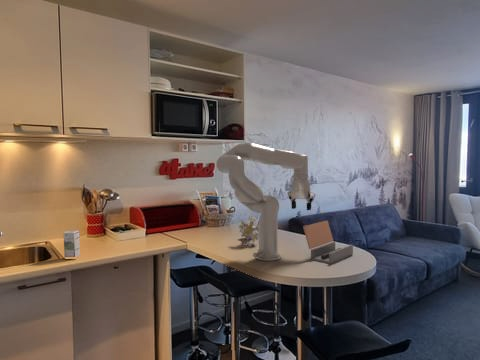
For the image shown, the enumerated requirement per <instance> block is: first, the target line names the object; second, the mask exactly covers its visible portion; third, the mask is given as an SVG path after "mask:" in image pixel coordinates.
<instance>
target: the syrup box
mask: <svg viewBox="0 0 480 360" xmlns="http://www.w3.org/2000/svg"><path fill="white" fill-rule="evenodd" d="M62 233H63V251H64V258H65V257H77V256H78V255H80V256H81V250H80V249H81V247H80V243H81V242H80V230H77V229H76V230H75V229H74V230H71V229H70V230H65V231H64V232H62Z"/></svg>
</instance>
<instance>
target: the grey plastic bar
mask: <svg viewBox="0 0 480 360" xmlns="http://www.w3.org/2000/svg"><path fill="white" fill-rule="evenodd" d="M341 248H342V247H338V248H335V250H333V251H336V250H339V249H341ZM333 251H330V252H328V253H325V254H322V255H321V259H326V258H329V253H331V252H333Z"/></svg>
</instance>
